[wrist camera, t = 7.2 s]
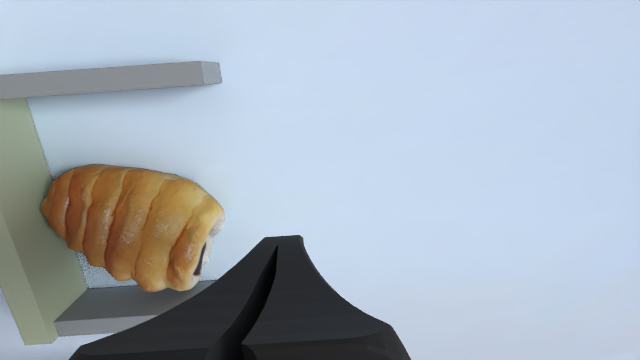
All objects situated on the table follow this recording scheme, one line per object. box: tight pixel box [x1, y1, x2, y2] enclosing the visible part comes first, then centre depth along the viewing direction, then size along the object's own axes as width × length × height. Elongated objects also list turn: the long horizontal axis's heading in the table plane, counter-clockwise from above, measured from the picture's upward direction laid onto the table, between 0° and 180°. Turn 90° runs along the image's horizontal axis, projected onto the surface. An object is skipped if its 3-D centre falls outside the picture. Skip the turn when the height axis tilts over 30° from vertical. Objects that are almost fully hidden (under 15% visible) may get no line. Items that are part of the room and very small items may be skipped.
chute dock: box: [0, 61, 222, 345], centre depth 18 cm, size 12×14×4 cm
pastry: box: [40, 164, 225, 292], centre depth 19 cm, size 9×7×4 cm
